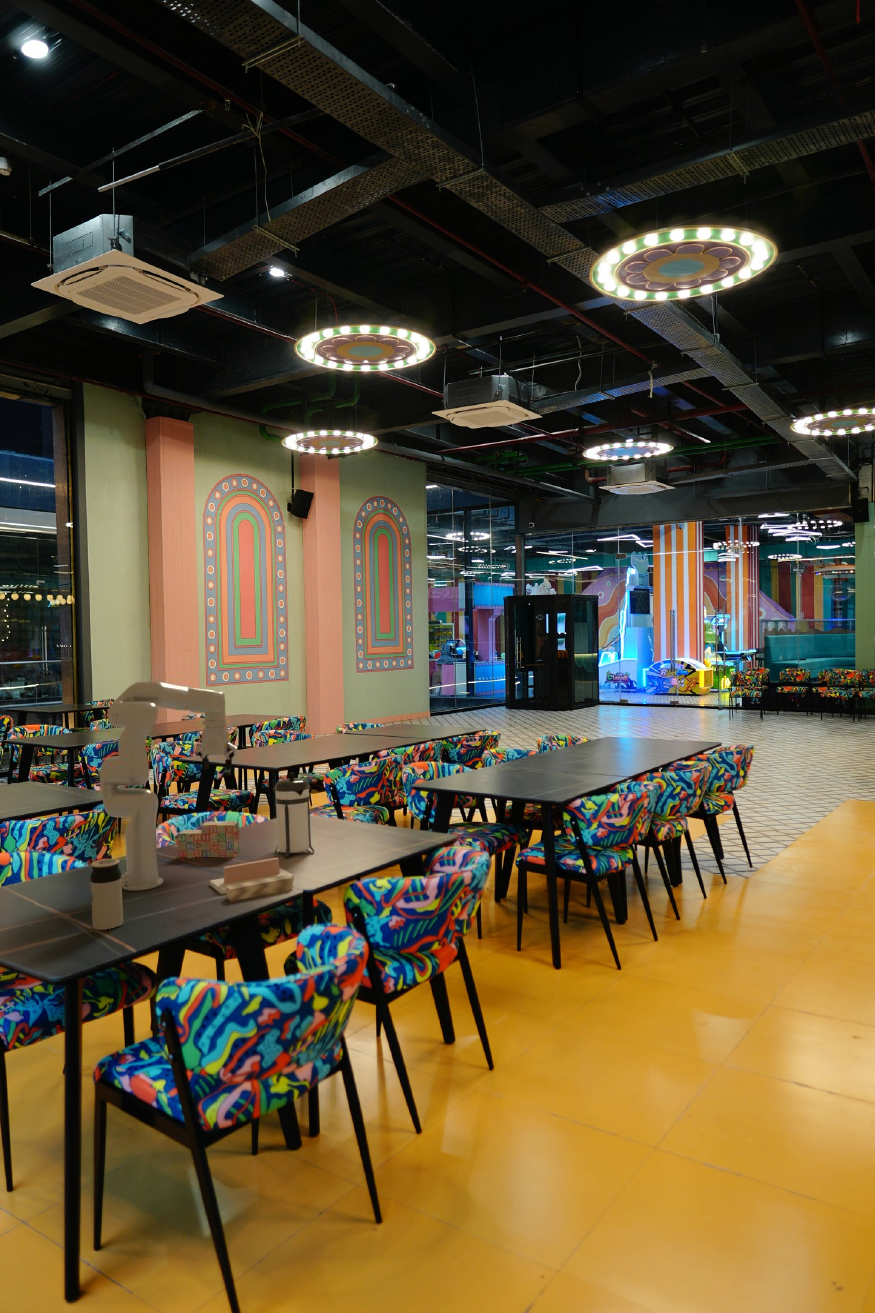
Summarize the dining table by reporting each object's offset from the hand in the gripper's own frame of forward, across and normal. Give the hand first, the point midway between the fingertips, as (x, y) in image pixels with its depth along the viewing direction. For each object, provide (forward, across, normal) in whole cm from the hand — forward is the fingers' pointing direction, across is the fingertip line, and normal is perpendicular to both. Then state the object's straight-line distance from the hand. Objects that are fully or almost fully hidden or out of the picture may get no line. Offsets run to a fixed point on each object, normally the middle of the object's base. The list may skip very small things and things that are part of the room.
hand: (217, 769), depth 313 cm
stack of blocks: (+31, -1, -7) cm, 32 cm away
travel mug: (+31, +14, -80) cm, 87 cm away
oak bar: (+31, +42, -45) cm, 69 cm away
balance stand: (+31, +33, -35) cm, 57 cm away
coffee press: (+31, +29, +2) cm, 42 cm away
